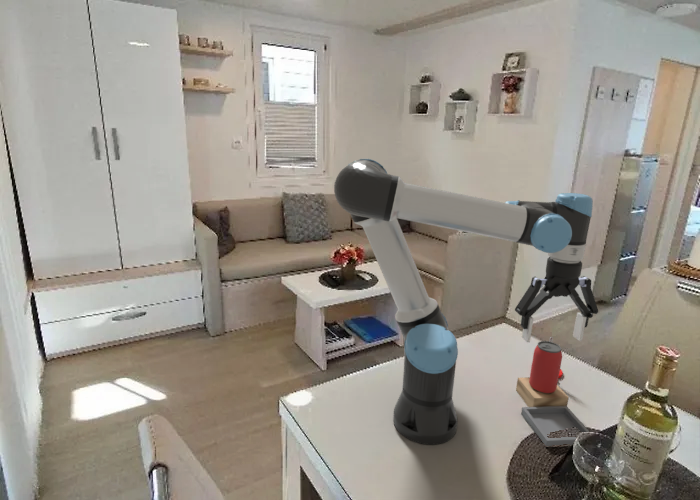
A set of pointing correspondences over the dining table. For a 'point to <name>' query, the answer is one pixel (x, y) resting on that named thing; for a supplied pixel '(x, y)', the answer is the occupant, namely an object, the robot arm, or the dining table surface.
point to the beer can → (545, 367)
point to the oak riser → (540, 395)
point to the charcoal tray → (552, 422)
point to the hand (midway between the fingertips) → (551, 339)
